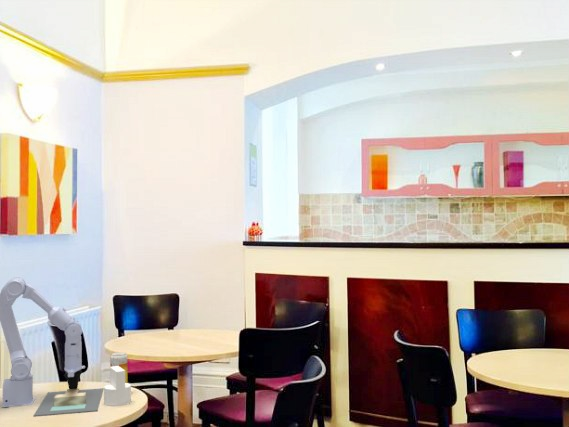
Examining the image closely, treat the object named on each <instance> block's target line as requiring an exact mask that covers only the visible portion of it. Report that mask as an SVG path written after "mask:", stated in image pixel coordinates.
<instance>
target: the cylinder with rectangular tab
mask: <svg viewBox="0 0 569 427" xmlns="http://www.w3.org/2000/svg"><path fill="white" fill-rule="evenodd" d="M131 386H132V385H131V383H130V382H128V383H125V370H124V369H122V368H121V367H119V366H113V367H109V383H108V384H106V385H105V386H103V388H104V390H103V405H105V406H109V407H118V406H125V405H127V404H131V403H132V398H131V397H132V396H131V395H132V394H131V392H132V391H131V389H132V387H131ZM130 402H131V403H130Z"/></svg>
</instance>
